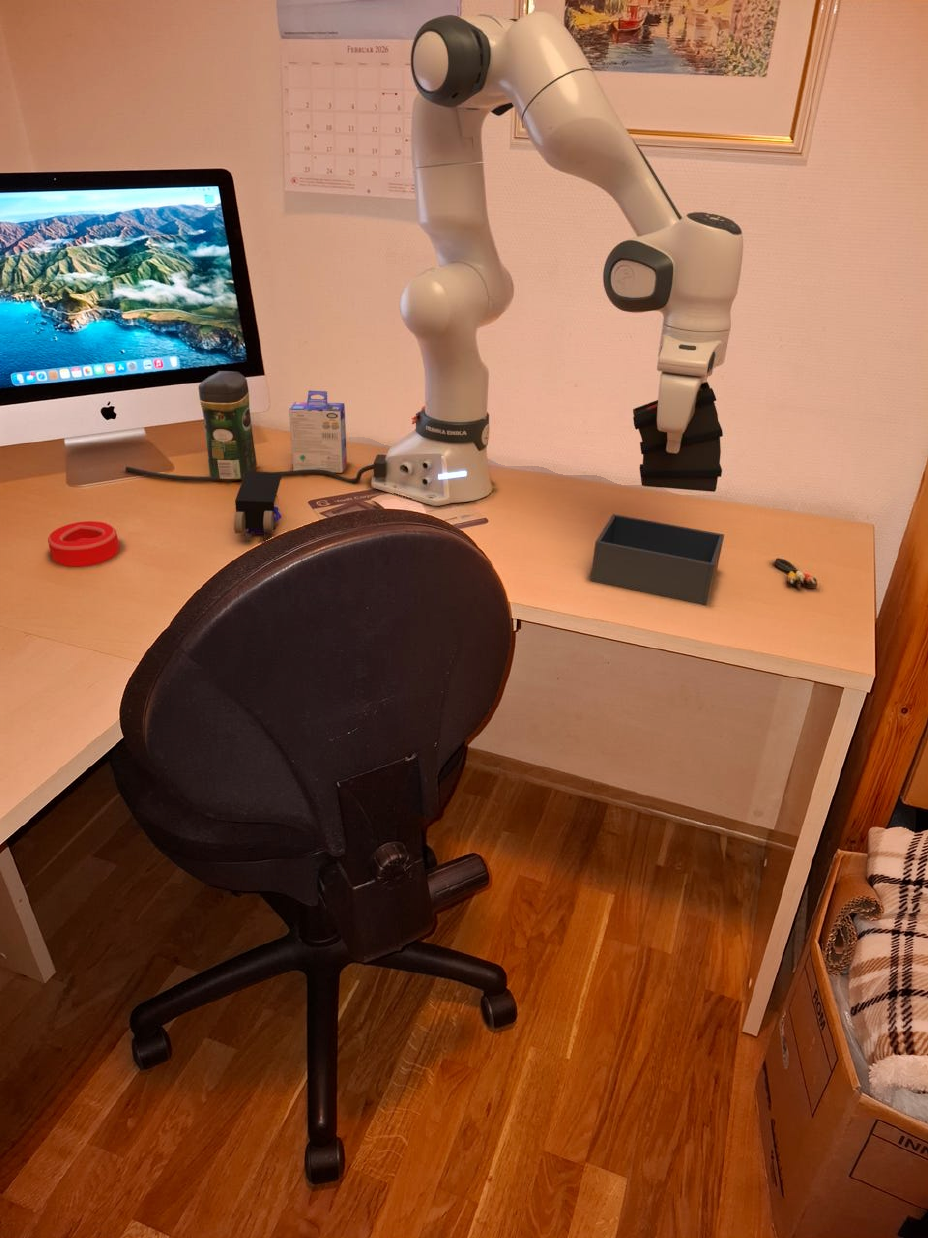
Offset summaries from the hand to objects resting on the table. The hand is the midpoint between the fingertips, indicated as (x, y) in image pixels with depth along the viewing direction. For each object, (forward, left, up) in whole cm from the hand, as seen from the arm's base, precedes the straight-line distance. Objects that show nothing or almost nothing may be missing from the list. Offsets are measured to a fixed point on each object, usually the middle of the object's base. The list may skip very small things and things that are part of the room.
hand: (676, 445), depth 121 cm
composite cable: (+21, +6, -20) cm, 29 cm away
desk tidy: (0, -3, -20) cm, 20 cm away
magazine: (0, 0, -6) cm, 6 cm away
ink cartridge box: (-68, +14, -20) cm, 72 cm away
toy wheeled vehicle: (-63, -14, -20) cm, 67 cm away
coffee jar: (-81, +4, -20) cm, 83 cm away
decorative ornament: (-82, -33, -20) cm, 90 cm away
